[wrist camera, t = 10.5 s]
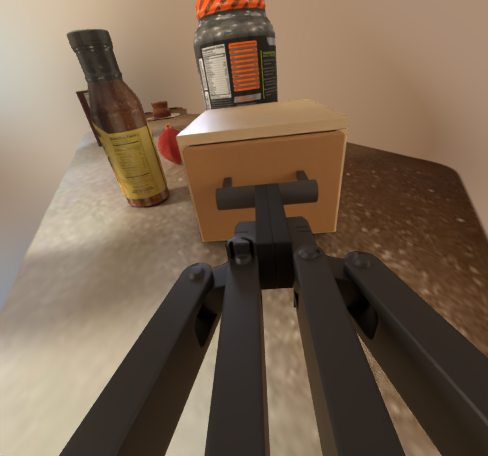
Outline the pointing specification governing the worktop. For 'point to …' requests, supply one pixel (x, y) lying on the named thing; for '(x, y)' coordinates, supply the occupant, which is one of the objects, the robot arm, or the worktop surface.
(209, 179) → the drawer
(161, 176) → the sauce bottle
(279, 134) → the cabinet
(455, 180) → the worktop surface
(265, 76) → the supplement tub
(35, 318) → the worktop surface
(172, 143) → the onion
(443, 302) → the worktop surface
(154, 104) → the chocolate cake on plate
